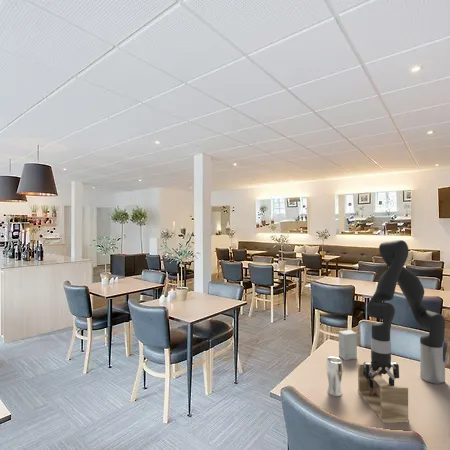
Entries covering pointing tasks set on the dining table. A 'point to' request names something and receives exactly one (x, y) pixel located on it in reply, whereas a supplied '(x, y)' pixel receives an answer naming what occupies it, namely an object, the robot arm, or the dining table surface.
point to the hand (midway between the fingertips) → (381, 387)
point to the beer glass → (334, 375)
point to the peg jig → (385, 399)
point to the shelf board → (378, 384)
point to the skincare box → (347, 344)
